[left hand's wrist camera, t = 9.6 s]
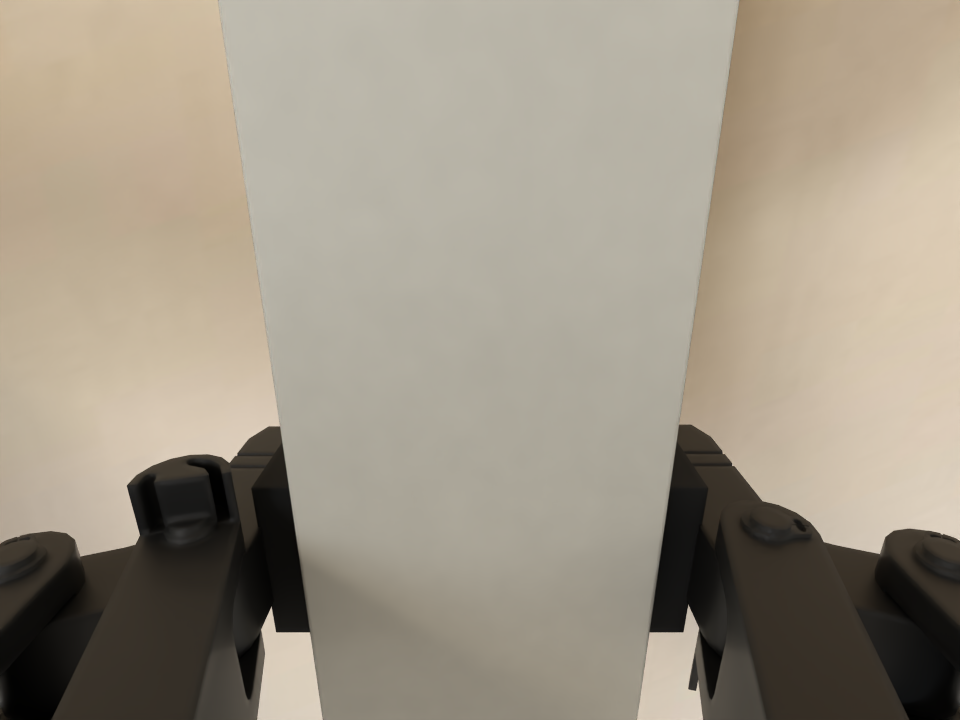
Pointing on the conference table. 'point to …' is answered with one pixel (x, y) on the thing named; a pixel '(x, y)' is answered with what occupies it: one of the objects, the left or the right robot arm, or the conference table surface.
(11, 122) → the conference table surface
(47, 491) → the conference table surface
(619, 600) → the bar
